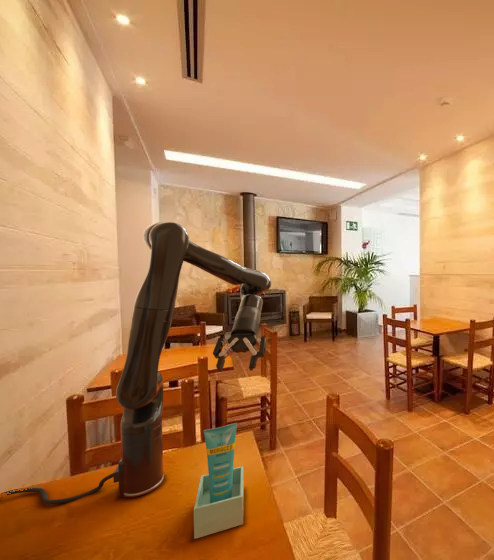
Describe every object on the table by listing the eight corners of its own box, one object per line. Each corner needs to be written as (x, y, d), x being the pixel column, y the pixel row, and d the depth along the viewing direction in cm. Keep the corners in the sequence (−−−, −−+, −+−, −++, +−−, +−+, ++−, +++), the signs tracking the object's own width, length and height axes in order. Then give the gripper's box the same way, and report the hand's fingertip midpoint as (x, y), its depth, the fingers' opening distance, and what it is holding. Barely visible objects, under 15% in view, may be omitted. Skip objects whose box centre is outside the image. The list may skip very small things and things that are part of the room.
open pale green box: (194, 539, 69) (193, 509, 68) (201, 501, 80) (201, 475, 80) (243, 524, 73) (242, 496, 73) (243, 490, 84) (243, 465, 84)
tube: (205, 512, 72) (204, 434, 72) (204, 499, 76) (202, 425, 76) (239, 500, 77) (238, 426, 76) (236, 488, 81) (235, 418, 80)
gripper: (220, 316, 94) (204, 364, 83) (267, 316, 96) (258, 362, 85) (226, 330, 99) (213, 376, 88) (271, 329, 101) (263, 374, 90)
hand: (235, 369), depth 87 cm, fingers open, 8 cm apart
